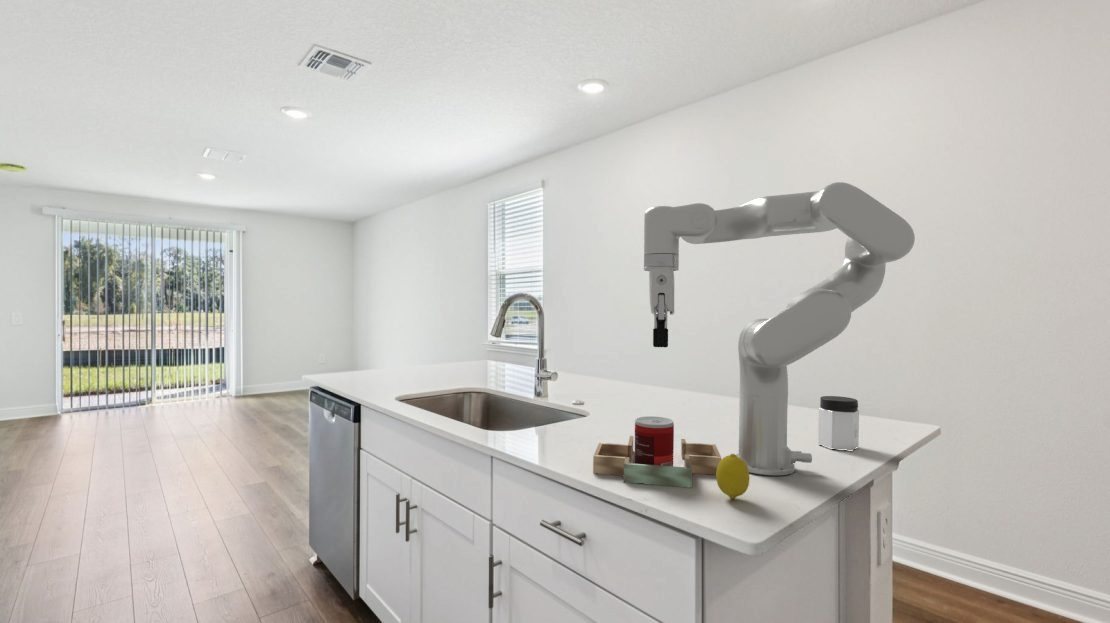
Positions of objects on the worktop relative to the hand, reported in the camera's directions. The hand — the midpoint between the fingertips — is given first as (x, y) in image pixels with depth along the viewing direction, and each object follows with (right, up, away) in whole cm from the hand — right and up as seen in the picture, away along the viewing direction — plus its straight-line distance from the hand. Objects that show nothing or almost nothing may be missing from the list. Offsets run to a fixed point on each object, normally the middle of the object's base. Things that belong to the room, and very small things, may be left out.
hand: (660, 346), depth 112 cm
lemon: (+8, -26, -22) cm, 35 cm away
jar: (+47, -26, +14) cm, 55 cm away
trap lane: (-2, -25, -4) cm, 25 cm away
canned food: (-3, -25, -10) cm, 27 cm away
